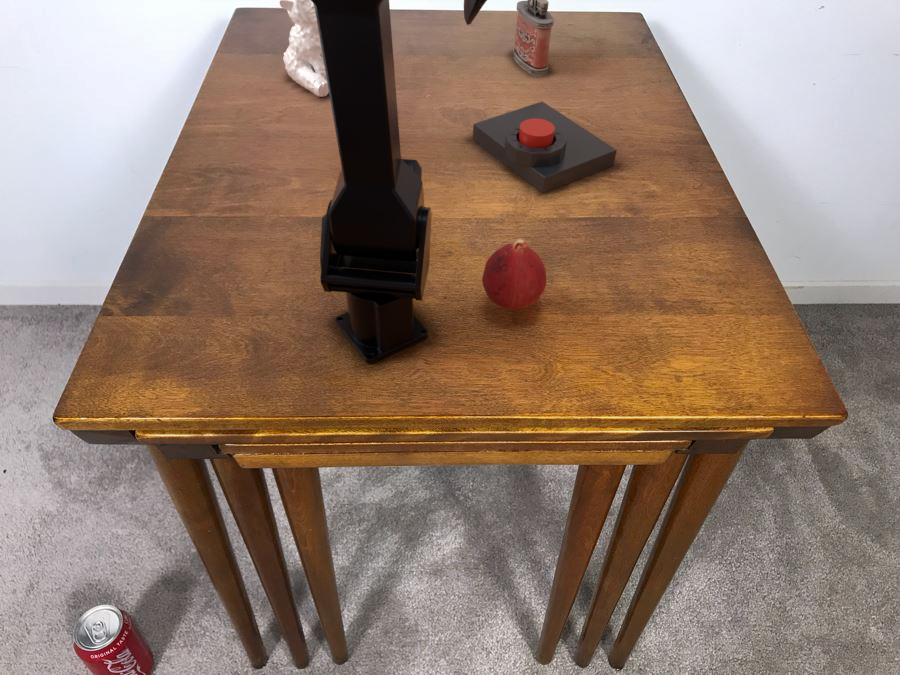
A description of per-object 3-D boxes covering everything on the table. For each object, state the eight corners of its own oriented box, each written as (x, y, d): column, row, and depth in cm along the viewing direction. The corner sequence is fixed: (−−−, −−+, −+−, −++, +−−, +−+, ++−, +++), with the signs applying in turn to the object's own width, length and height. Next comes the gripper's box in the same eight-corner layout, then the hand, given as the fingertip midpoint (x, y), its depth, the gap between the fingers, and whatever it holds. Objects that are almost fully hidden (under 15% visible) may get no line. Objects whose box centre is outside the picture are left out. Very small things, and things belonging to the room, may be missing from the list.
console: (613, 165, 86) (619, 136, 83) (536, 196, 81) (540, 166, 78) (540, 116, 94) (543, 87, 91) (466, 141, 89) (467, 112, 86)
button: (560, 143, 83) (562, 129, 81) (533, 153, 81) (534, 139, 80) (538, 128, 85) (540, 115, 84) (511, 137, 83) (512, 124, 82)
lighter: (552, 73, 103) (561, 1, 96) (531, 77, 102) (539, 4, 95) (528, 50, 108) (535, -20, 101) (507, 53, 107) (513, -17, 100)
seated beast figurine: (323, 100, 96) (313, 8, 87) (269, 87, 98) (253, -4, 90) (357, 71, 102) (351, -17, 93) (305, 59, 104) (294, -28, 96)
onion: (491, 332, 66) (497, 266, 60) (473, 292, 70) (477, 226, 64) (550, 321, 67) (561, 255, 61) (529, 282, 71) (538, 216, 65)
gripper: (488, -183, 67) (485, -40, 82) (295, -138, 65) (326, 0, 80) (529, -105, 63) (517, 31, 78) (324, -56, 61) (351, 74, 76)
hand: (427, 32), depth 78 cm, fingers open, 9 cm apart
